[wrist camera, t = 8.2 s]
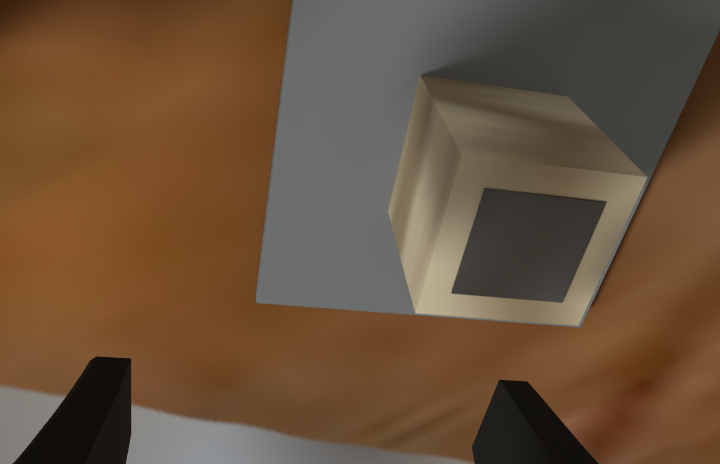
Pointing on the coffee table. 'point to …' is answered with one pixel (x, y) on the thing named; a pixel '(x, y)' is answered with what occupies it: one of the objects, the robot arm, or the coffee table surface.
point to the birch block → (507, 203)
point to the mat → (395, 102)
